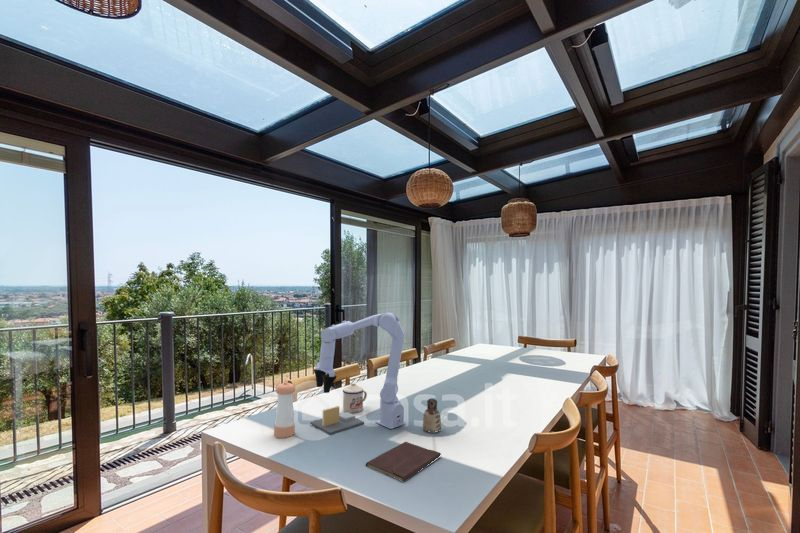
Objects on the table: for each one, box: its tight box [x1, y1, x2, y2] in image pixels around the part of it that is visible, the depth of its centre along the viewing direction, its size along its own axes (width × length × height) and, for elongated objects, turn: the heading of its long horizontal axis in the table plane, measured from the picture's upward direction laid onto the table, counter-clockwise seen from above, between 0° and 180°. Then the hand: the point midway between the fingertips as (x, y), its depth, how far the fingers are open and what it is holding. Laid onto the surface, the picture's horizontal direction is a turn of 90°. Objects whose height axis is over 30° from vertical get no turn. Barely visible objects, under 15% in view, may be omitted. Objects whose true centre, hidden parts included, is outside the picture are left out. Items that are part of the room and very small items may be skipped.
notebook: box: [365, 441, 442, 482], centre depth 119 cm, size 15×20×2 cm
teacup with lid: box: [342, 382, 368, 414], centre depth 167 cm, size 12×9×12 cm
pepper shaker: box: [273, 381, 296, 439], centre depth 140 cm, size 7×7×19 cm
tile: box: [321, 405, 340, 426], centre depth 148 cm, size 1×7×6 cm, turn 134°
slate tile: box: [339, 411, 356, 422], centre depth 154 cm, size 6×5×1 cm
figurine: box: [422, 397, 442, 432], centre depth 146 cm, size 7×7×12 cm
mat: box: [309, 412, 365, 436], centre depth 150 cm, size 14×16×1 cm
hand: (322, 389), depth 155 cm, fingers open, 7 cm apart
